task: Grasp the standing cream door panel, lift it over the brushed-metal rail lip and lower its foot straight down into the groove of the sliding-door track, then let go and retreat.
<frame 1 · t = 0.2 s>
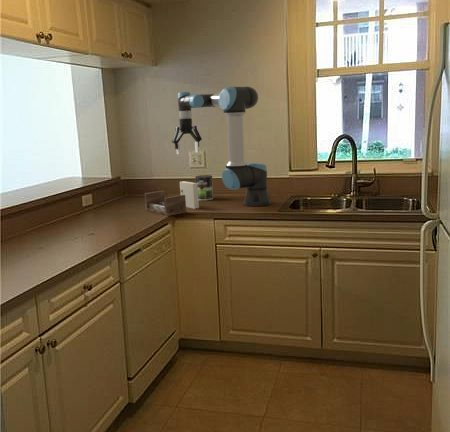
hand: (187, 153, 322), 28 cm above the counter, fingers open, 13 cm apart
door track: (165, 211, 290), on the counter
door panel: (189, 206, 299), on the counter
coffee can: (205, 199, 322), on the counter
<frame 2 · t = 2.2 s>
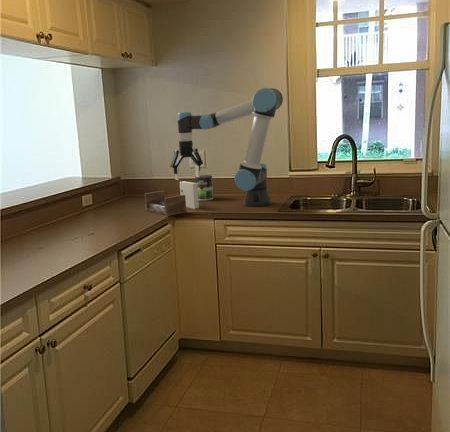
hand: (187, 178, 296), 16 cm above the counter, fingers open, 13 cm apart
nothing on the counter moved.
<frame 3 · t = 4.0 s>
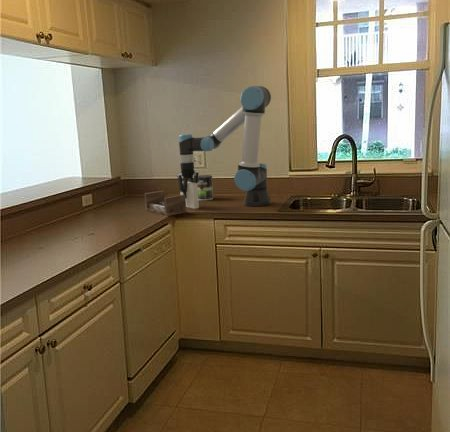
hand: (189, 203, 299), 2 cm above the counter, fingers closed on door panel, 3 cm apart
door panel: (189, 206, 299), on the counter, touching gripper
everything else where it was.
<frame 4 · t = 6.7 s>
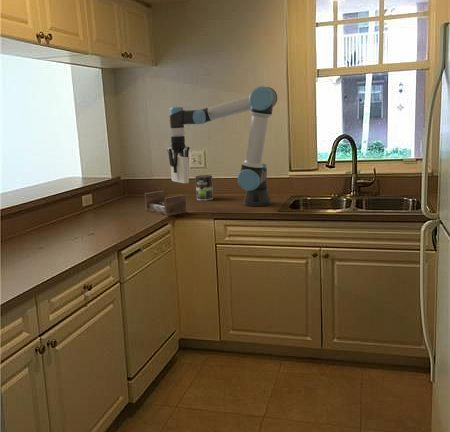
hand: (179, 178, 293), 17 cm above the counter, fingers closed on door panel, 3 cm apart
door panel: (180, 181, 293), point 15 cm above the counter, touching gripper
everything else where it was.
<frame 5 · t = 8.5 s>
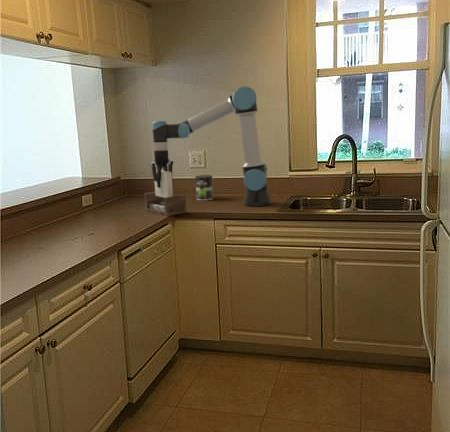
hand: (163, 192, 288), 10 cm above the counter, fingers closed on door panel, 3 cm apart
door panel: (164, 196, 288), point 8 cm above the counter, touching gripper
everything else where it was.
when the fingers open (5 cm above the counter, at t = 9.7 s): door panel drops 1 cm, resting on door track.
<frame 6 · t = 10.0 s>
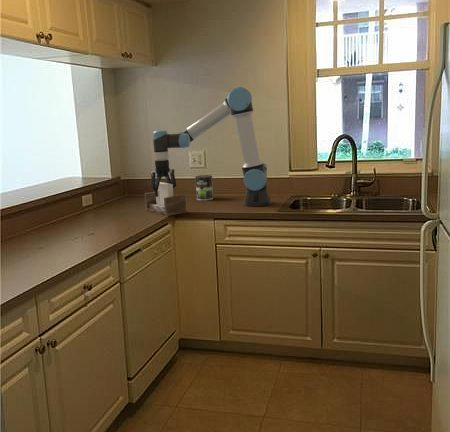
hand: (164, 201, 289), 6 cm above the counter, fingers open, 7 cm apart
door panel: (165, 208, 290), point 2 cm above the counter, touching door track
everything else where it was.
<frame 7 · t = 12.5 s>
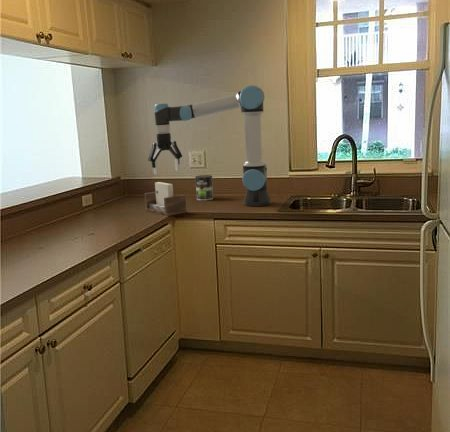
hand: (166, 172, 287), 21 cm above the counter, fingers open, 13 cm apart
nothing on the counter moved.
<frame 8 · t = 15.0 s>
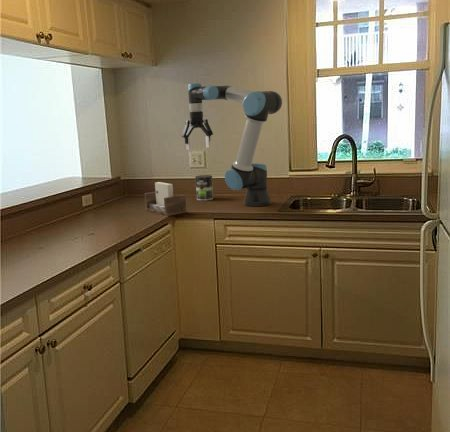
hand: (198, 148, 304), 32 cm above the counter, fingers open, 13 cm apart
nothing on the counter moved.
at the end: door panel 0.0 cm off-centre on the door track, point 1.5 cm above the door track's base; door panel tilted 0°; the gripper is holding nothing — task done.
